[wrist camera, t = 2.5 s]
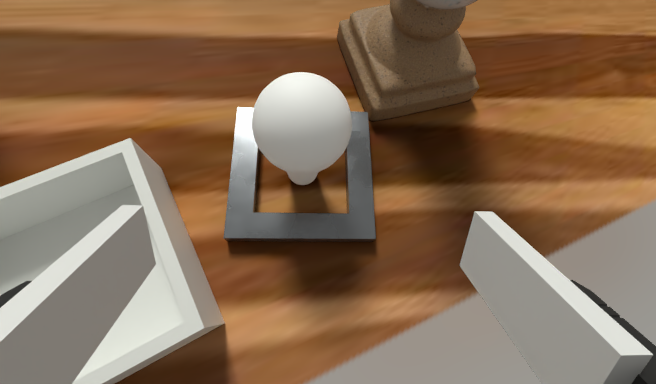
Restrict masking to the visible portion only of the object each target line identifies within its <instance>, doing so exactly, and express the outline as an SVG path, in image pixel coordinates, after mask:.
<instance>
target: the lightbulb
mask: <svg viewBox="0 0 656 384" xmlns="http://www.w3.org/2000/svg"><path fill="white" fill-rule="evenodd" d="M252 130H253V134H254V138H255V141H256V144H257V146H258V148H259V149H260V151H261V152H262V153H263V155H264V156H265V157H266V158H267V159H268V160H269V161H270V162H271V163H272V164H274V165H275V166H277V167H278V168H280V169H282V170H285V171H286V172H287V173H288V176H289V178H290V180H291V181H292V182H294V183H296V184H298V185H307V184H309V183H311V182H313V181H314V180H315V178H316V176H317V173H318V172H319V171H321V170H323V169H326V168H327V167H329V166H330V165H332V164H333V163H334V162H335V161H336V160H337V159H338V158H339V157H340V156H341V155H342V154H343V152H344V151H345V149H346V147H347V145H348V143H349V140H350V136H351V132H352V118H351V111H350V109H349V106H348V103H347V100H346V99H345V97H344V95H343V94H342V92H341V91H340V90H339V89H338V88H337V87H336V86H335V85H334V84H333V83H331V82H330V81H329V80H327V79H325V78H323V77H321V76H319V75H316V74H313V73H306V72H296V73H290V74H286V75H283V76H281V77H279V78H277V79H275V80H274V81H273V82H271V83H270V84H269V85H268V86H267V87H265V89H264V90H263V91H262V92H261V94H260V95H259V97H258V99H257V101H256V104H255V106H254V110H253V115H252Z"/></svg>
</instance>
